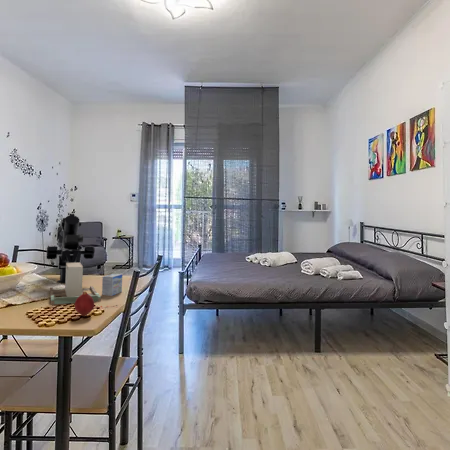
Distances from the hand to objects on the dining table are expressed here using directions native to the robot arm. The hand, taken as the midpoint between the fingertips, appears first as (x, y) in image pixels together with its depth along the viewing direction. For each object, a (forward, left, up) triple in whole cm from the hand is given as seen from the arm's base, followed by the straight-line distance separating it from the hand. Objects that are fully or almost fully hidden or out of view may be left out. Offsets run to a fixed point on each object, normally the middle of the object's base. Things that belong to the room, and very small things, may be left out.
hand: (71, 268), depth 146 cm
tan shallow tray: (+12, -10, -9) cm, 18 cm away
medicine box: (+21, +1, -9) cm, 23 cm away
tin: (+10, -8, -8) cm, 15 cm away
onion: (+31, -24, -9) cm, 41 cm away
